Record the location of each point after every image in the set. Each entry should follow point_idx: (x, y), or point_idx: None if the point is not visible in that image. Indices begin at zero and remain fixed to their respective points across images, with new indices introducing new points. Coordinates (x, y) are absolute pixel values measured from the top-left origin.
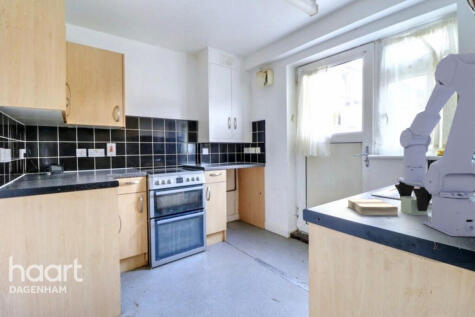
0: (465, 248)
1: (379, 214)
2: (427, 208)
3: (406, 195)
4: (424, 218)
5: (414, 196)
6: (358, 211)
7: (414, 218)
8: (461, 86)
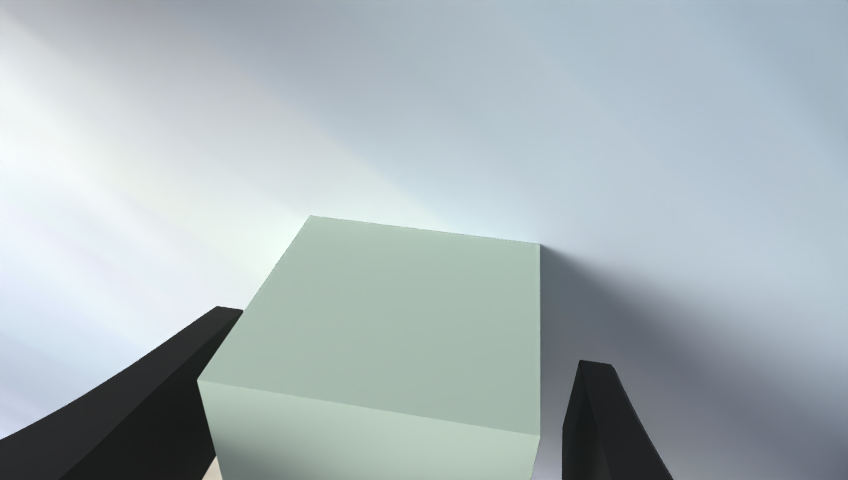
0: None
1: None
2: (539, 310)
3: (153, 470)
4: (671, 384)
5: (218, 419)
6: None
7: None
8: None
